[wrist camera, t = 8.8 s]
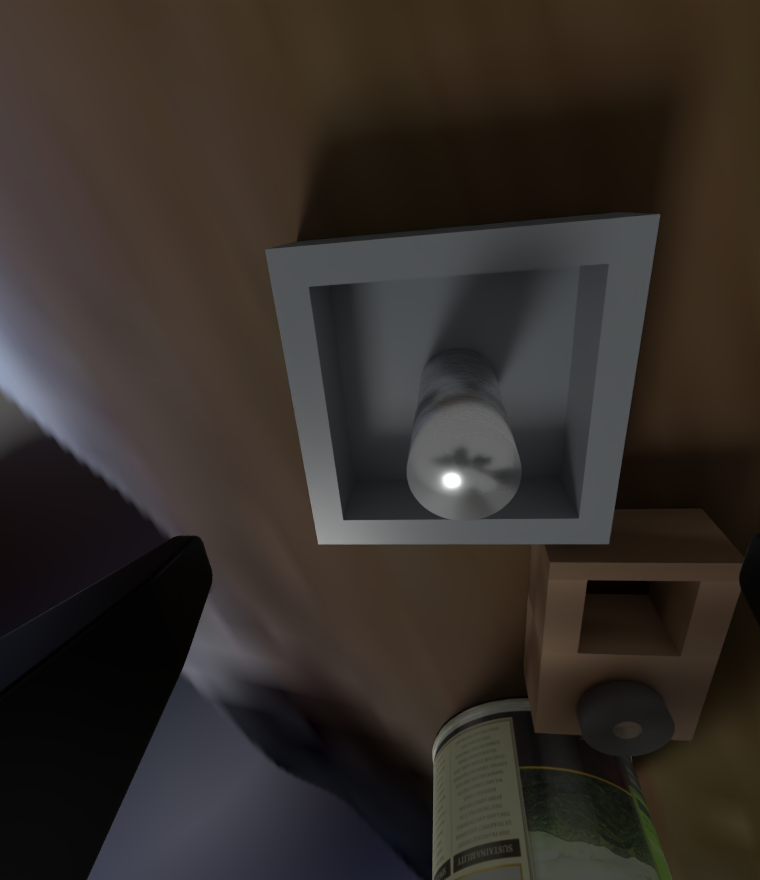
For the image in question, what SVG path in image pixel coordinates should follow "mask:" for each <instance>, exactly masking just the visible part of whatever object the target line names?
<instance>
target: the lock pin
mask: <svg viewBox="0 0 760 880" xmlns="http://www.w3.org/2000/svg"><path fill="white" fill-rule="evenodd" d="M521 474H522V470H521V462H520V458H519V455H518V451H517V448H516V444H515V441H514V437H513V434H512V430H511V427H510V423H509V420H508V417H507V413H506V410H505V406H504V403H503V399H502V396H501V392H500V389H499V385H498V382H497V379H496V375H495V372H494V369H493V367H492V365H491V364H490V362H489V361H488V360H487V359H486V358H485V357H484V356H483V355H481V354H480V353H478V352H476V351H474V350H471V349H467V348H451V349H447V350H445V351H442V352H440V353H438V354H437V355H436V356H434V357H433V358H432V359H431V360H430V361H429V362H428V363H427V365H426V366H425V368H424V370H423V372H422V376H421V381H420V388H419V394H418V400H417V406H416V413H415V419H414V425H413V431H412V438H411V444H410V450H409V457H408V463H407V480H408V484H409V487H410V489H411V492H412V493H413V495H414V497H415V498H416V499H417V500H418V502H419V503H420V504H421V505H422V506H423V507H425V508H426V509H427V510H429V511H430V512H432V513H434V514H436V515H438V516H440V517H443V518H447V519H450V520H457V521H471V520H477V519H481V518H485V517H487V516H490V515H492V514H494V513H496V512H498V511H499V510H501V509H502V508H503V507H504V506H506V505H507V504H508V503H509V502H510V500H511V499H512V498H513V497H514V495H515V493H516V492H517V490H518V487H519V484H520V481H521Z"/></svg>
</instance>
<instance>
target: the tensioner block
mask: <svg viewBox="0 0 760 880" xmlns="http://www.w3.org/2000/svg"><path fill="white" fill-rule="evenodd" d="M743 561H744V556H743V555H742V554H741V553H740V552H739V551H738V549H737V548H736V547H735V546H734V545H733V544H732V543H731V541H730V540H729V539H728V538H727V537H726V536H725V535H724V533H723V532H722V531H721V530H720V529H719V528H718V526H717V525H716V524H715V523H714V522H713V521H712V520H711V518H710V517H709V516H708V515H707V514H706V513H705V512H704V510H703V509H702V508H689V509H614V515H613V521H612V528H611V534H610V541H609V544H531V557H530V572H529V587H528V602H527V618H526V633H525V648H524V663H523V671H524V677H525V682H526V688H527V693H528V698H529V704H530V709H531V715H532V720H533V726H534V731H535V733H550V734H569V735H582V736H583V738H584V740H585V742H586V743H587V744H588V745H589V746H591V747H592V748H594V749H595V750H597V751H599V752H602V753H604V754H608V755H613V756H621V757H631V756H640V755H644V754H648V753H651V752H654V751H656V750H658V749H660V748H661V747H663V746H664V745H666V744H667V743H668V742H669V741H670V740H682V741H692V738H693V735H694V732H695V729H696V726H697V723H698V720H699V717H700V714H701V711H702V708H703V705H704V702H705V699H706V696H707V692H708V689H709V686H710V683H711V680H712V677H713V674H714V671H715V668H716V665H717V662H718V659H719V656H720V653H721V650H722V647H723V643H724V640H725V637H726V634H727V631H728V628H729V625H730V622H731V619H732V616H733V613H734V610H735V607H736V604H737V601H738V597H739V594H740V591H741V588H740V584H739V574H740V570H741V567H742V564H743ZM587 580H618V581H650V584H649V588H648V593H647V594H586V587H587Z"/></svg>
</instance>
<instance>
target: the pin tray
mask: <svg viewBox="0 0 760 880" xmlns="http://www.w3.org/2000/svg"><path fill="white" fill-rule="evenodd" d="M659 220H660V214H647V213H623V212H613V213H602V214H591V215H580V216H569V217H558V218H547V219H536V220H525V221H514V222H503V223H492V224H481V225H470V226H459V227H448V228H437V229H426V230H415V231H404V232H393V233H382V234H371V235H360V236H349V237H338V238H327V239H316V240H305V241H295V242H292V243H288V244H284V245H280V246H276V247H272V248H268V249H265V252H266V258H267V263H268V269H269V274H270V280H271V285H272V291H273V296H274V302H275V307H276V313H277V319H278V324H279V330H280V335H281V341H282V346H283V352H284V357H285V363H286V368H287V374H288V379H289V385H290V390H291V396H292V401H293V407H294V412H295V418H296V424H297V429H298V435H299V440H300V446H301V451H302V457H303V462H304V468H305V473H306V479H307V484H308V490H309V495H310V501H311V506H312V512H313V517H314V523H315V529H316V534H317V540H318V544H609V541H610V534H611V528H612V521H613V515H614V509H615V502H616V496H617V489H618V483H619V476H620V470H621V464H622V457H623V451H624V444H625V438H626V432H627V425H628V419H629V412H630V406H631V400H632V393H633V387H634V380H635V374H636V367H637V361H638V355H639V348H640V342H641V335H642V329H643V323H644V316H645V310H646V303H647V297H648V291H649V284H650V278H651V271H652V265H653V258H654V252H655V246H656V239H657V233H658V226H659ZM451 348H467V349H471V350H474V351H476V352H478V353H480V354H481V355H483V356H484V357H485V358H486V359H487V360H488V361H489V362H490V364H491V365H492V367H493V369H494V372H495V375H496V379H497V382H498V385H499V389H500V392H501V396H502V399H503V403H504V406H505V410H506V413H507V417H508V420H509V423H510V427H511V430H512V434H513V437H514V441H515V444H516V448H517V451H518V455H519V458H520V462H521V470H522V474H521V481H520V484H519V487H518V490H517V492H516V493H515V495H514V497H513V498H512V499H511V500H510V502H509V503H508V504H507V505H506V506H504V507H503V508H502V509H501V510H499V511H498V512H496V513H494V514H492V515H490V516H487V517H485V518H481V519H477V520H471V521H457V520H450V519H447V518H443V517H440V516H438V515H436V514H434V513H432V512H430V511H429V510H427V509H426V508H425V507H423V506H422V505H421V504H420V503H419V502H418V500H417V499H416V498H415V497H414V495H413V493H412V492H411V489H410V487H409V484H408V480H407V463H408V457H409V450H410V444H411V438H412V431H413V425H414V419H415V413H416V406H417V400H418V394H419V388H420V381H421V376H422V372H423V370H424V368H425V366H426V365H427V363H428V362H429V361H430V360H431V359H432V358H433V357H434V356H436V355H437V354H438V353H440V352H442V351H445V350H447V349H451Z"/></svg>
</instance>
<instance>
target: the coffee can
mask: <svg viewBox="0 0 760 880" xmlns="http://www.w3.org/2000/svg"><path fill="white" fill-rule="evenodd" d="M432 757H433V764H434V770H433V772H434V793H433V880H672V877H671V874H670V871H669V868H668V865H667V862H666V860H665V857H664V854H663V851H662V848H661V845H660V842H659V840H658V837H657V834H656V831H655V828H654V825H653V822H652V819H651V816H650V813H649V810H648V807H647V804H646V801H645V799H644V796H643V793H642V790H641V787H640V784H639V781H638V778H637V775H636V772H635V769H634V766H633V763H632V756H631V757H621V756H613V755H608V754H604V753H602V752H599V751H597V750H595V749H594V748H592V747H591V746H589V745H588V744H587V743H586V742H585V740H584V738H583V736H582V735H569V734H550V733H535V731H534V726H533V720H532V715H531V709H530V704H529V698H509V699H502V700H496V701H492V702H488V703H484V704H480V705H477V706H475V707H472V708H470V709H468V710H466V711H464V712H462V713H460V714H459V715H457V716H456V717H454V718H453V719H451V720H450V721H449V722H448V723H447V724H445V725H444V726H443V728H442V729H441V730H440V732H439V734H438V736H437V737H436V739H435V742H434V745H433V749H432Z"/></svg>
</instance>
